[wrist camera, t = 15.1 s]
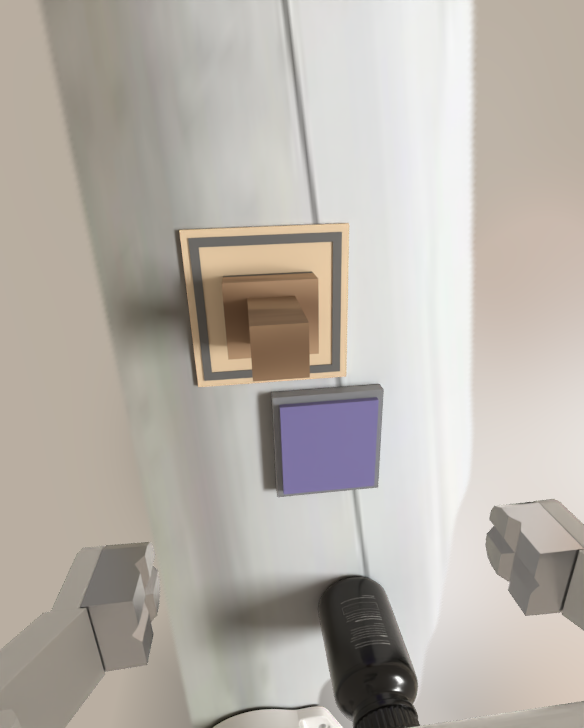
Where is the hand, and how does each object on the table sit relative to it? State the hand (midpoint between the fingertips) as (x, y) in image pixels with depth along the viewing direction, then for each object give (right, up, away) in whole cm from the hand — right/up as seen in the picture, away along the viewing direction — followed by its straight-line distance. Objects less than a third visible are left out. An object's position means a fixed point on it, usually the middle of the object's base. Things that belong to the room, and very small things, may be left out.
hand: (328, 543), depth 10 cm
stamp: (-2, +8, +20) cm, 22 cm away
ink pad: (+2, -2, +25) cm, 25 cm away
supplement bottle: (+5, -19, +32) cm, 37 cm away
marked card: (-2, +8, +20) cm, 22 cm away
